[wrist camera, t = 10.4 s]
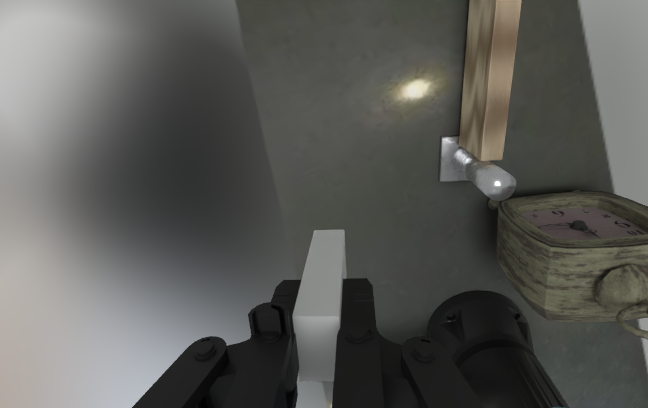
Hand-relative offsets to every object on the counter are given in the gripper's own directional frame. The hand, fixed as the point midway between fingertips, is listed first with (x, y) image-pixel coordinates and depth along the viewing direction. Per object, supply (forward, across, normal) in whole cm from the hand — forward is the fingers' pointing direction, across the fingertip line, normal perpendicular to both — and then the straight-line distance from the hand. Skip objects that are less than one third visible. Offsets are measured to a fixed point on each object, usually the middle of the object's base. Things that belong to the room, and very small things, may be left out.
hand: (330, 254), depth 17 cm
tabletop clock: (+32, -26, +12) cm, 43 cm away
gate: (+30, -16, -10) cm, 36 cm away
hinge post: (+32, -16, +3) cm, 36 cm away
